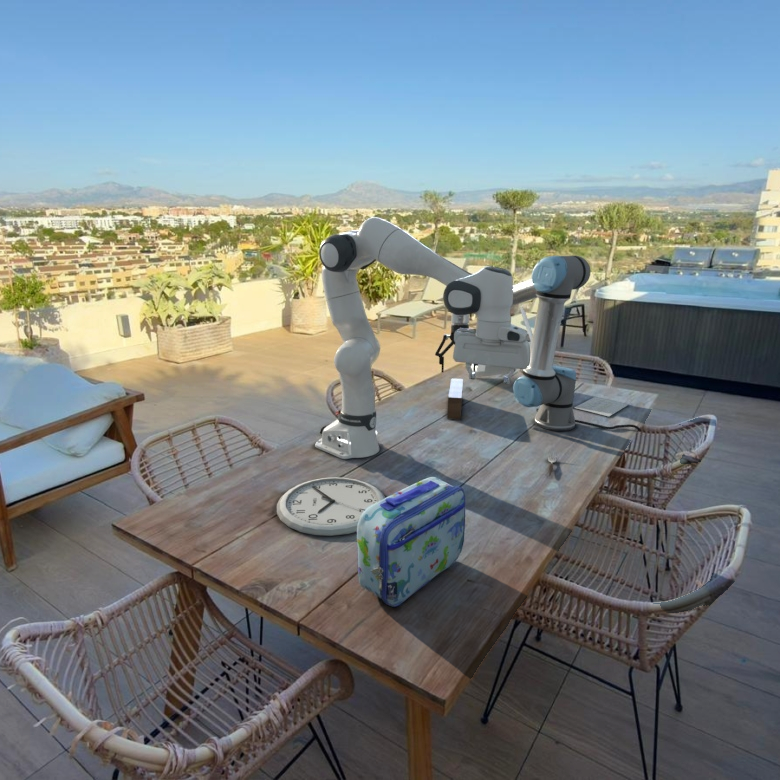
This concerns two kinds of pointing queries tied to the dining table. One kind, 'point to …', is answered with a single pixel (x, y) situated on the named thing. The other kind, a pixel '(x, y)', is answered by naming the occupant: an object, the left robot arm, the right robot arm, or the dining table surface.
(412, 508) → the lunch box
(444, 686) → the dining table surface
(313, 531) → the wall clock
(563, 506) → the dining table surface
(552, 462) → the fork
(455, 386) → the bar
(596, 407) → the invitation card
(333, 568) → the dining table surface
